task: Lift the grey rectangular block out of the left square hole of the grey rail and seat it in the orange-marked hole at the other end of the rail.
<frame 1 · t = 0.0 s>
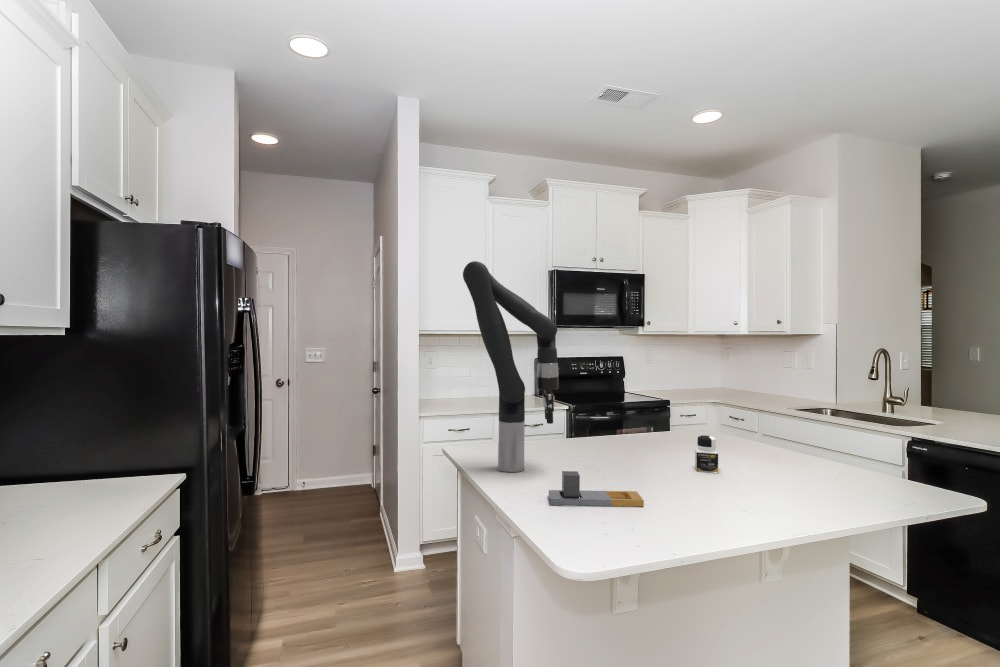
hand: (548, 421, 178), 17 cm above the countertop, tool pointing down, fingers open, 8 cm apart
rail: (594, 501, 145), on the countertop
grey rectangular block: (570, 501, 145), resting in rail
medicine bottle: (706, 470, 180), on the countertop
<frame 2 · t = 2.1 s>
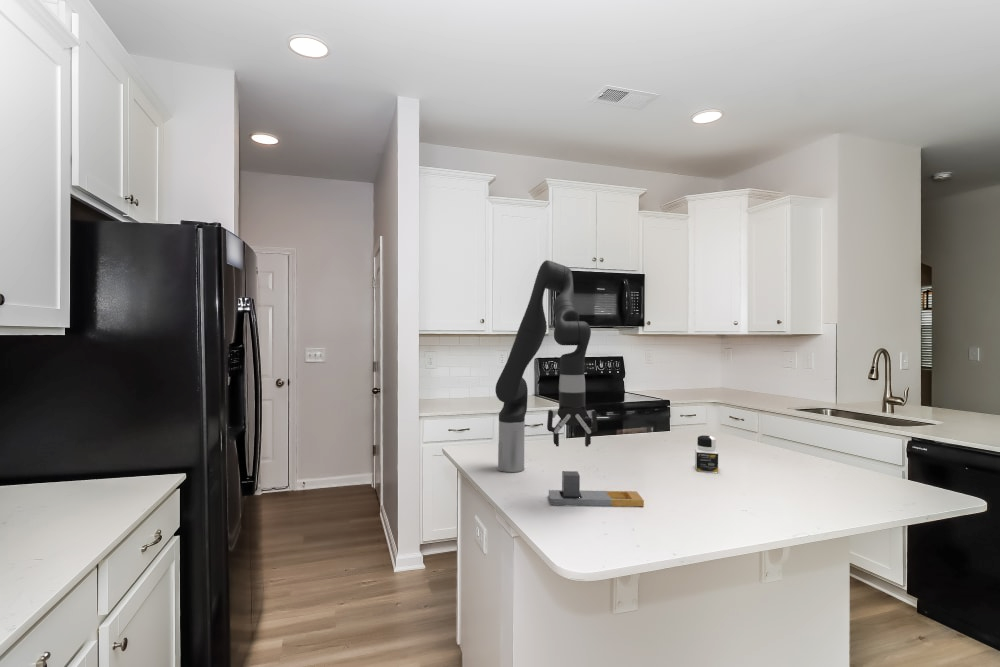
hand: (572, 446, 145), 16 cm above the countertop, tool pointing down, fingers open, 8 cm apart
nothing on the countertop moved.
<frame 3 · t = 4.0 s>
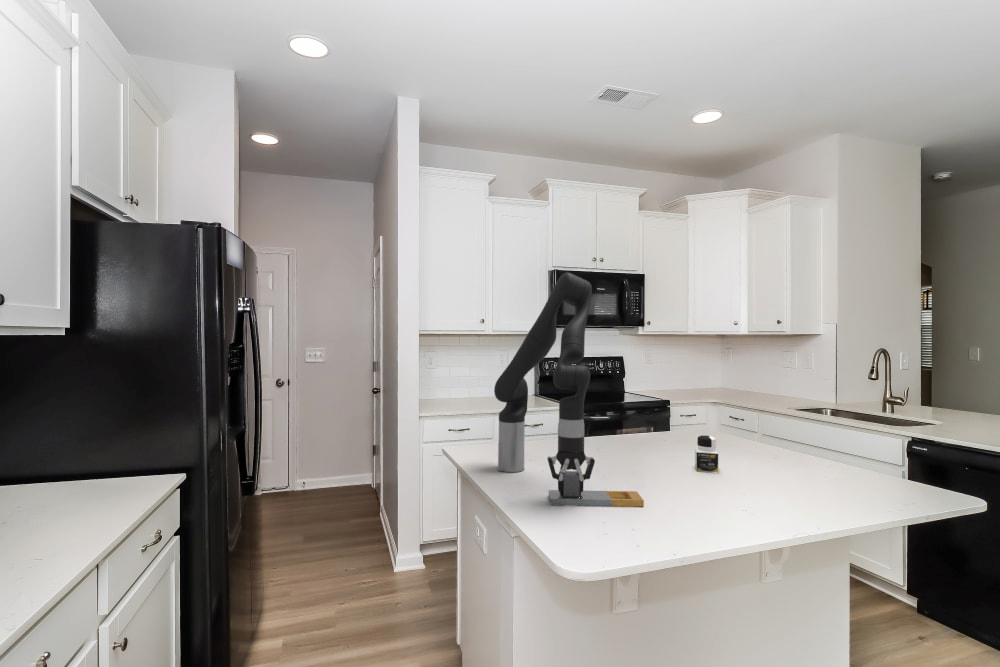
hand: (570, 492, 145), 2 cm above the countertop, tool pointing down, fingers closed on grey rectangular block, 4 cm apart
grey rectangular block: (570, 501, 145), resting in rail, touching gripper
everything else where it was.
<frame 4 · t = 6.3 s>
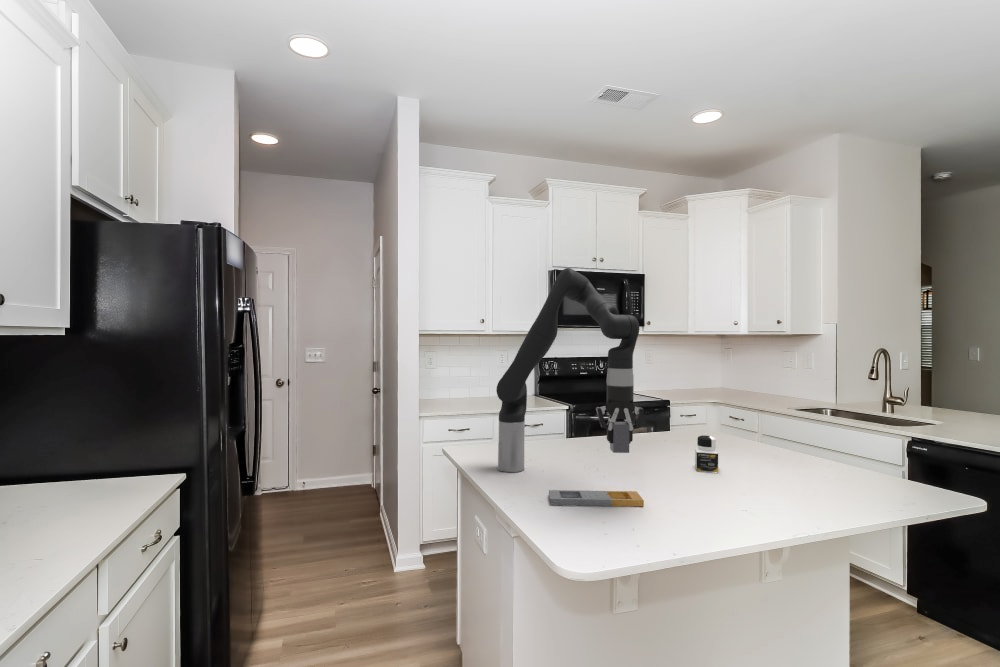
hand: (619, 442, 145), 17 cm above the countertop, tool pointing down, fingers closed on grey rectangular block, 4 cm apart
grey rectangular block: (619, 450, 145), point 15 cm above the countertop, touching gripper
everything else where it was.
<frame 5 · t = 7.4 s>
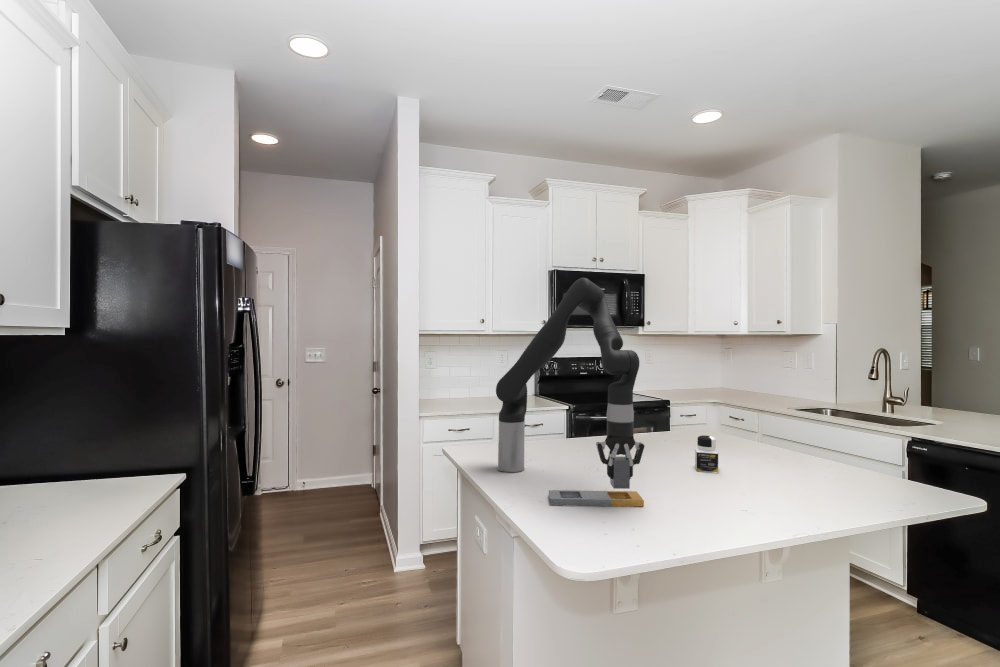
hand: (619, 477, 145), 7 cm above the countertop, tool pointing down, fingers closed on grey rectangular block, 4 cm apart
grey rectangular block: (619, 486, 145), point 4 cm above the countertop, touching gripper
everything else where it was.
when the fingers open (3 cm above the countertop, at t = 8.6 s): grey rectangular block stays where it is, resting in rail.
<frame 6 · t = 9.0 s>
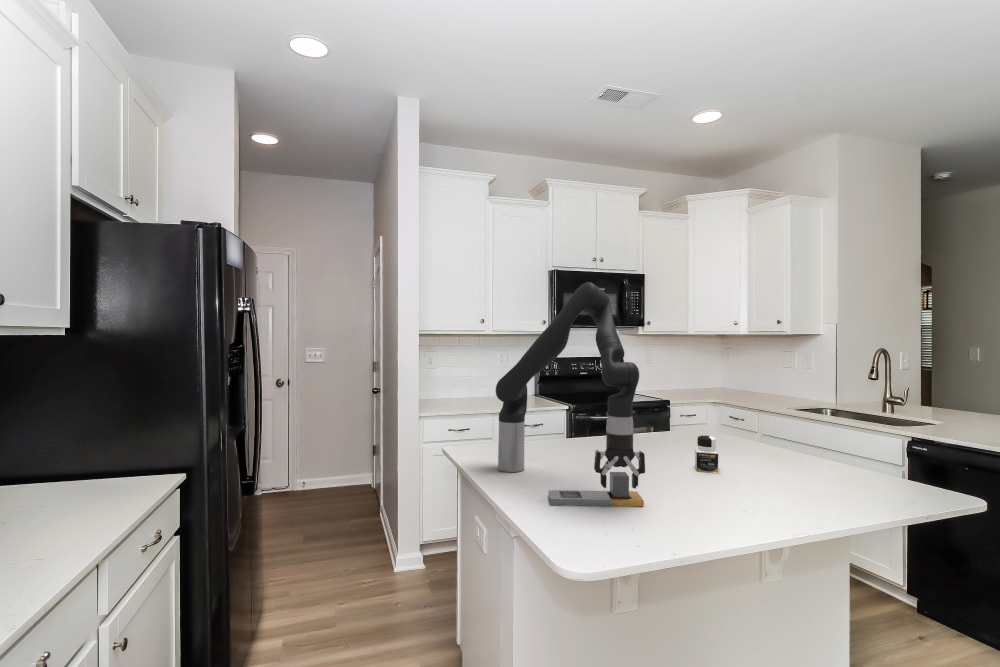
hand: (619, 487, 145), 4 cm above the countertop, tool pointing down, fingers open, 8 cm apart
grey rectangular block: (619, 501, 145), resting in rail
everything else where it was.
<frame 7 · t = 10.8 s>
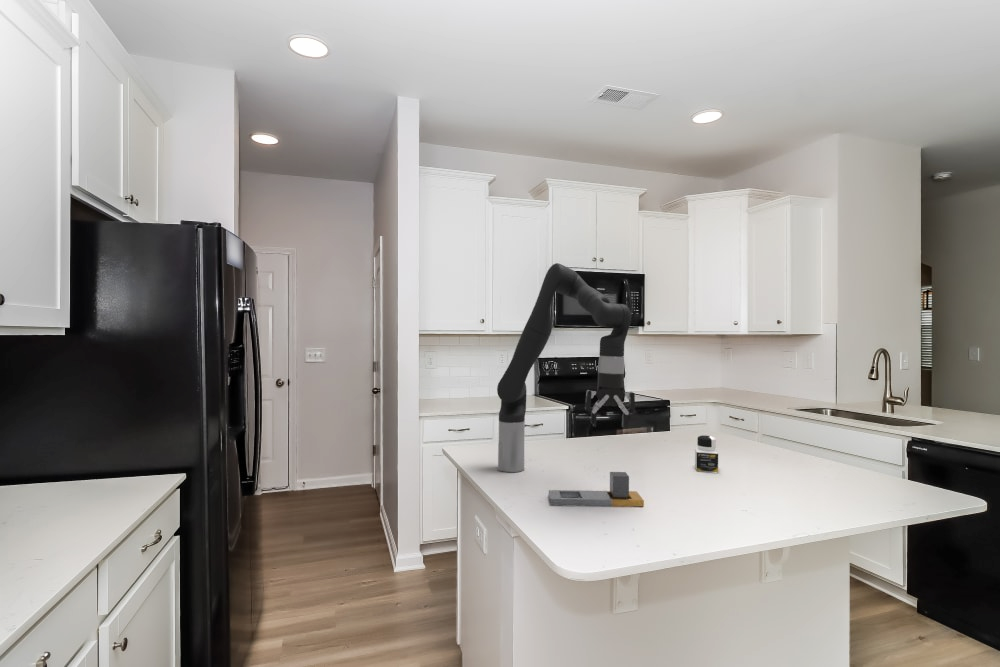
hand: (609, 426, 148), 21 cm above the countertop, tool pointing down, fingers open, 8 cm apart
nothing on the countertop moved.
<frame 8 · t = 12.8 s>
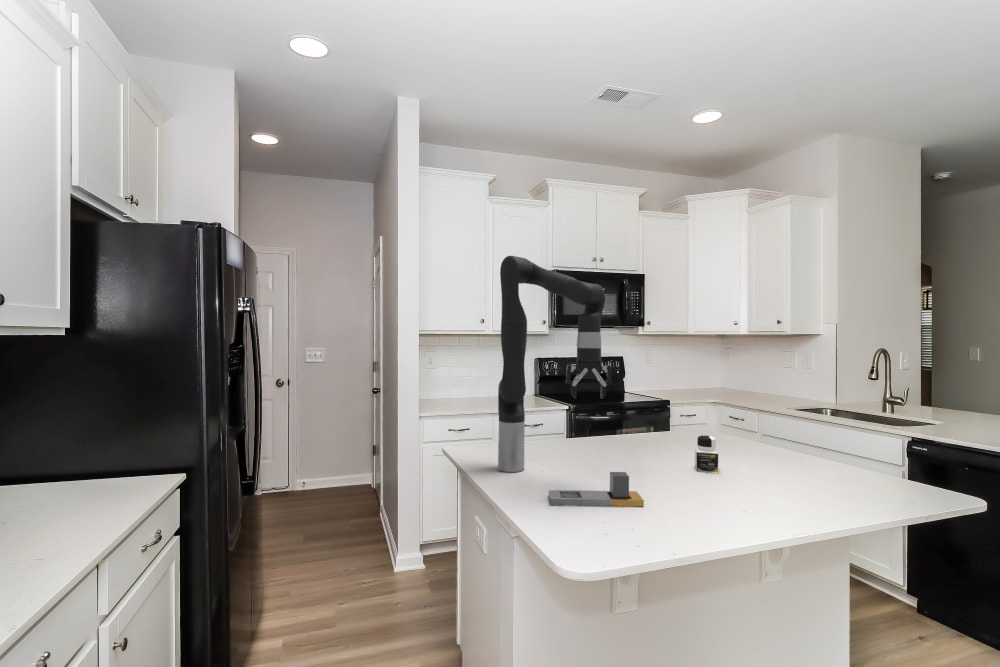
hand: (588, 398, 158), 28 cm above the countertop, tool pointing down, fingers open, 8 cm apart
nothing on the countertop moved.
at the end: grey rectangular block 0.0 cm from the target spot on the rail, point 0.0 cm above the rail's base; grey rectangular block tilted 0°; the gripper is holding nothing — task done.
